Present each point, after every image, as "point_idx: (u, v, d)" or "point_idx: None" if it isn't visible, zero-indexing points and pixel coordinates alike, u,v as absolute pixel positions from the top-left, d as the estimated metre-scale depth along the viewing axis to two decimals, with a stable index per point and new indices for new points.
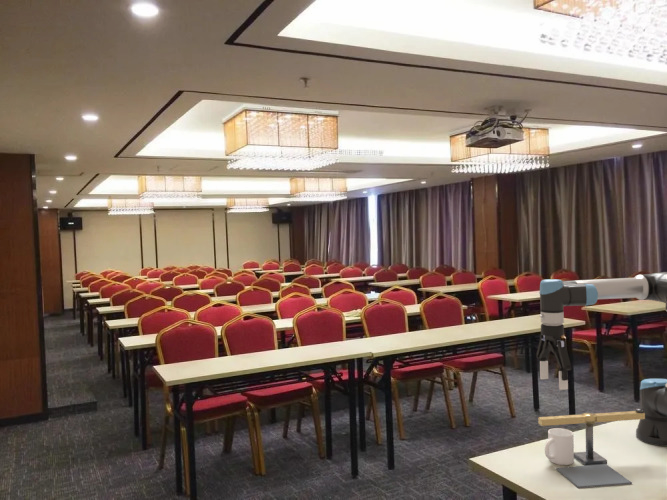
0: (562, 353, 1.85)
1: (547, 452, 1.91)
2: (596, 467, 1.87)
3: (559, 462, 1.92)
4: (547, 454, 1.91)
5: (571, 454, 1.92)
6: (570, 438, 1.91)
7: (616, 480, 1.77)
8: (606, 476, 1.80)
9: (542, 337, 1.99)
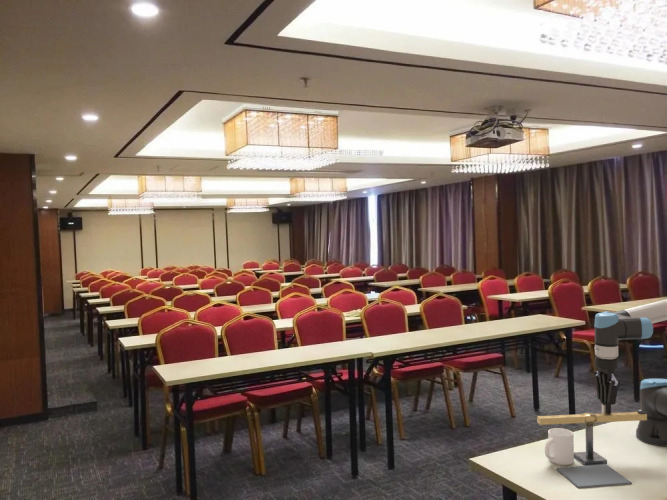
0: (612, 391, 1.92)
1: (547, 452, 1.91)
2: (596, 467, 1.87)
3: (559, 462, 1.92)
4: (547, 454, 1.91)
5: (571, 454, 1.92)
6: (570, 438, 1.91)
7: (616, 480, 1.77)
8: (606, 476, 1.80)
9: (596, 373, 2.01)
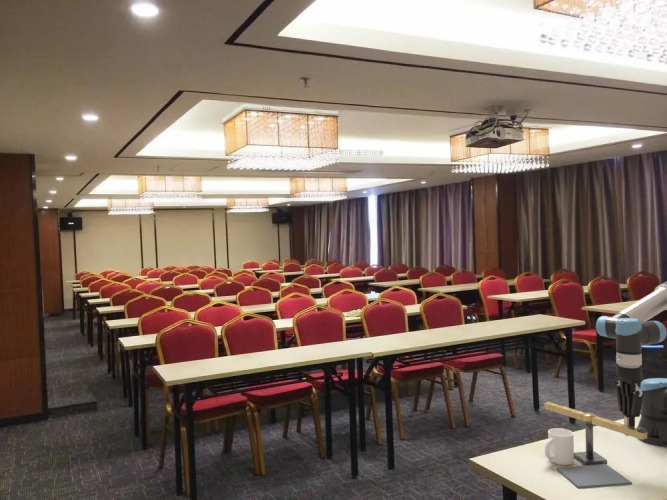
0: (636, 403, 1.79)
1: (547, 452, 1.91)
2: (596, 467, 1.87)
3: (559, 462, 1.92)
4: (547, 454, 1.91)
5: (571, 454, 1.92)
6: (570, 438, 1.91)
7: (616, 480, 1.77)
8: (606, 476, 1.80)
9: (617, 383, 1.89)
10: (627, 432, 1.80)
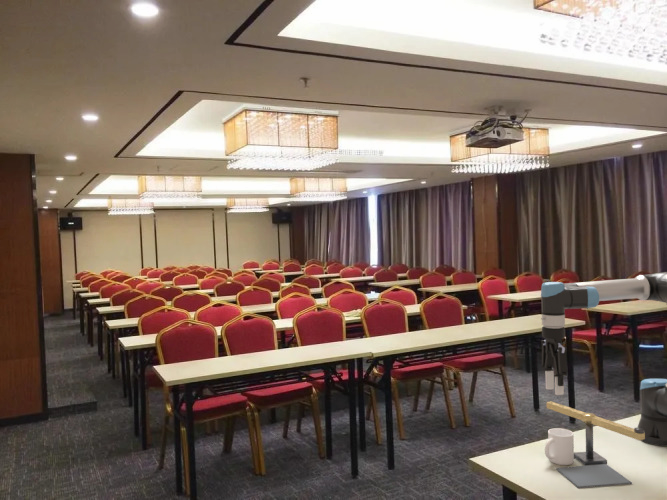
0: (561, 359, 1.87)
1: (547, 452, 1.91)
2: (596, 467, 1.87)
3: (559, 462, 1.92)
4: (547, 454, 1.91)
5: (571, 454, 1.92)
6: (570, 438, 1.91)
7: (616, 480, 1.77)
8: (606, 476, 1.80)
9: (543, 342, 1.99)
10: (625, 433, 1.80)
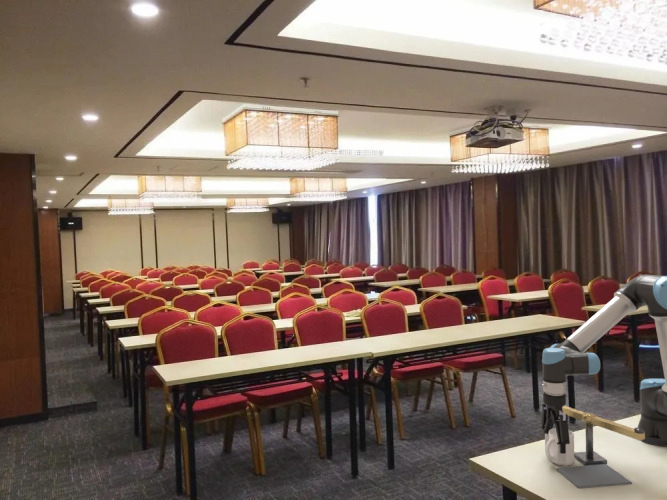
0: (562, 427, 1.87)
1: (548, 452, 1.91)
2: (596, 467, 1.87)
3: (560, 462, 1.91)
4: (548, 454, 1.91)
5: (572, 454, 1.91)
6: (571, 438, 1.91)
7: (616, 480, 1.77)
8: (606, 476, 1.80)
9: (544, 406, 1.99)
10: (625, 433, 1.80)
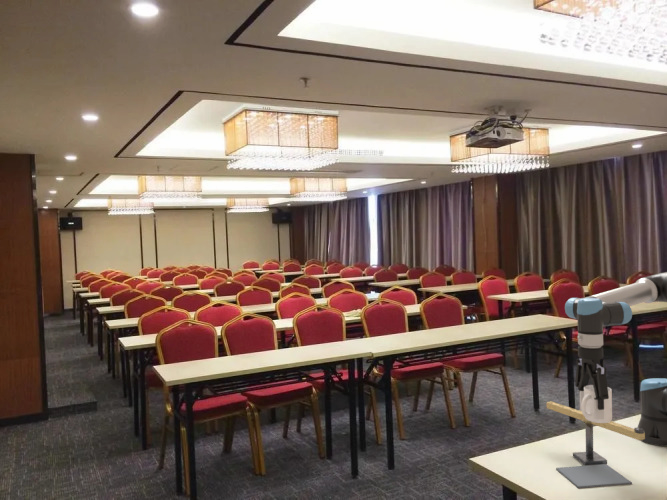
0: (601, 381, 1.74)
1: (584, 409, 1.78)
2: (596, 467, 1.87)
3: (597, 420, 1.78)
4: (584, 411, 1.78)
5: (610, 411, 1.78)
6: (608, 394, 1.78)
7: (616, 480, 1.77)
8: (606, 476, 1.80)
9: (579, 361, 1.86)
10: (625, 433, 1.80)
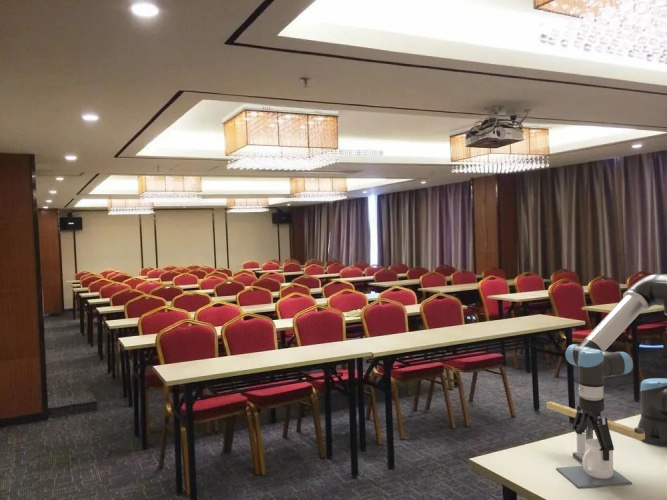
0: (603, 432, 1.74)
1: (585, 465, 1.78)
2: None
3: (598, 475, 1.79)
4: (585, 467, 1.78)
5: (610, 467, 1.79)
6: None
7: (616, 480, 1.77)
8: None
9: (579, 409, 1.87)
10: (625, 433, 1.80)
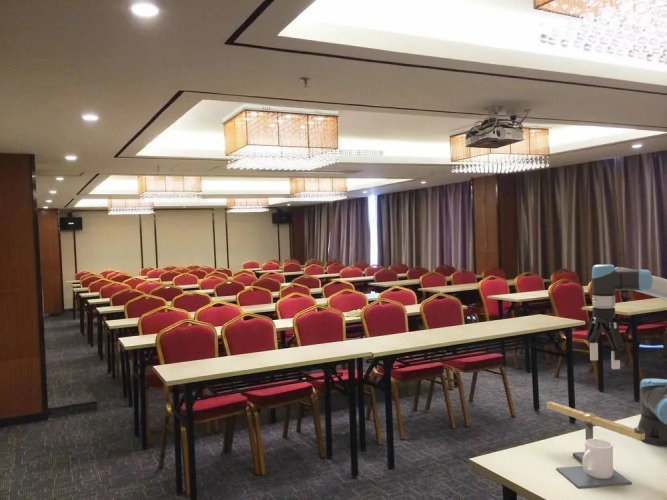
0: (615, 334, 1.94)
1: (585, 465, 1.78)
2: None
3: (598, 476, 1.79)
4: (585, 467, 1.78)
5: (610, 467, 1.79)
6: (609, 450, 1.78)
7: (616, 480, 1.77)
8: None
9: (592, 320, 2.08)
10: (625, 433, 1.80)
